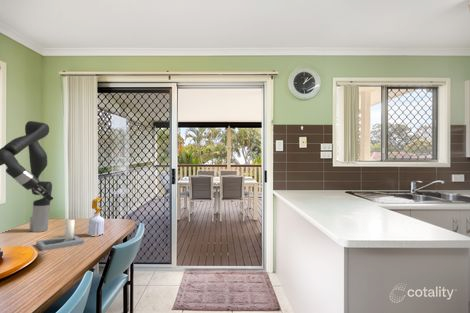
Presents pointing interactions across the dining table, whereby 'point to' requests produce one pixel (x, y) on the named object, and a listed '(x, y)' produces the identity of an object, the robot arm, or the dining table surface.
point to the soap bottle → (96, 220)
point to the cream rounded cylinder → (69, 230)
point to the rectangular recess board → (58, 243)
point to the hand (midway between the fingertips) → (49, 198)
